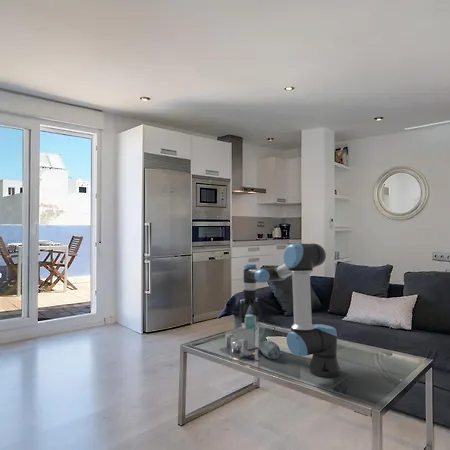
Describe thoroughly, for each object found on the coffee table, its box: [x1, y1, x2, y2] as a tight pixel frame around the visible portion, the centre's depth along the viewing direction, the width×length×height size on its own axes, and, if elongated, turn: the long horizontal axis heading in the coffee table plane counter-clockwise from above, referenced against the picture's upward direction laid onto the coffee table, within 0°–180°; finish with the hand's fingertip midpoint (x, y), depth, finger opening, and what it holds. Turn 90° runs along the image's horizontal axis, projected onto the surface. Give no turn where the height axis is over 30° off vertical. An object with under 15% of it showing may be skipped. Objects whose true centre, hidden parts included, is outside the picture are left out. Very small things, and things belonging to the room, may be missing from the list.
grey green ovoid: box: [260, 340, 281, 360], centre depth 213 cm, size 14×10×10 cm
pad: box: [240, 343, 259, 351], centre depth 228 cm, size 8×8×1 cm
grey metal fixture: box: [218, 332, 254, 360], centre depth 219 cm, size 18×11×9 cm, turn 35°
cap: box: [240, 313, 258, 331], centre depth 228 cm, size 13×7×7 cm, turn 35°
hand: (249, 327), depth 228 cm, fingers closed on cap, 7 cm apart
